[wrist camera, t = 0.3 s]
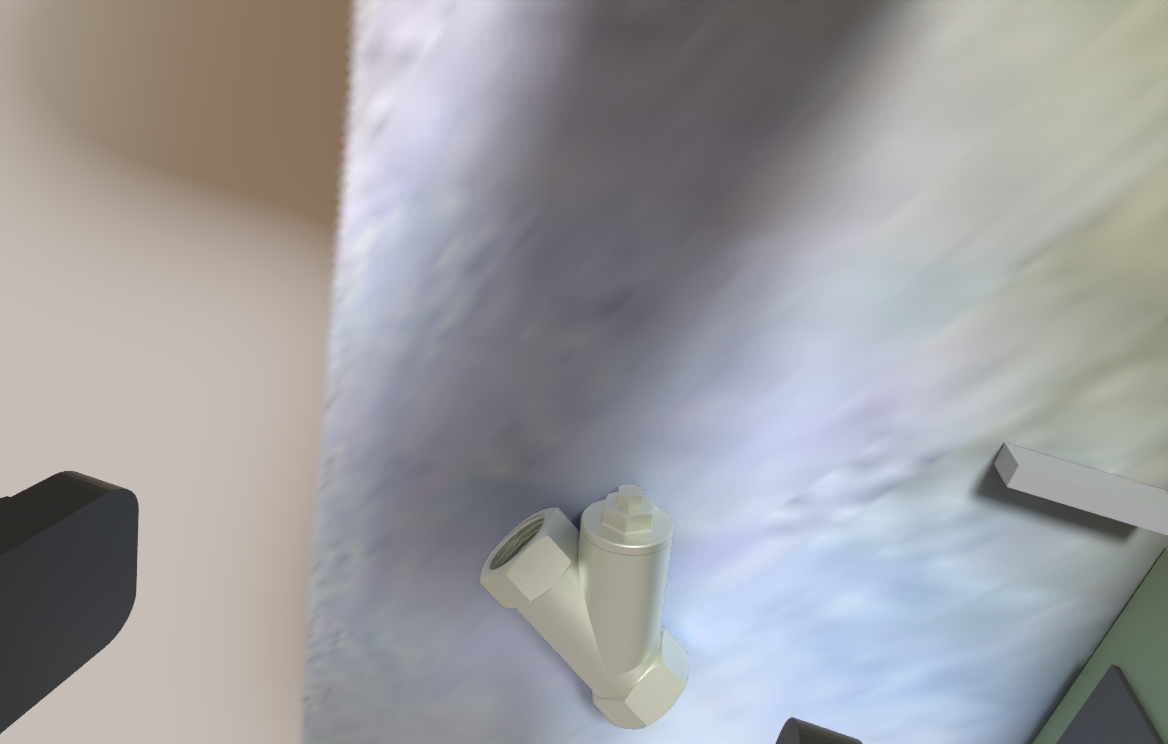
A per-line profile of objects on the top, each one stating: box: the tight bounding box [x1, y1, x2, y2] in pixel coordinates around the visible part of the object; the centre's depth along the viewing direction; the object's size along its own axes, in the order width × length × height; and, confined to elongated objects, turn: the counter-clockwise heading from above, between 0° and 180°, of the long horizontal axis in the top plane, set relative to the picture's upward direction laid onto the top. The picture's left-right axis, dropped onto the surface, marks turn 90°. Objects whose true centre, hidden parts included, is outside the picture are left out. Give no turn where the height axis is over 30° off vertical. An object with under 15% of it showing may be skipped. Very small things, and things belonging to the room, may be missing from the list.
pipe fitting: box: [479, 484, 689, 729], centre depth 28 cm, size 8×4×7 cm
